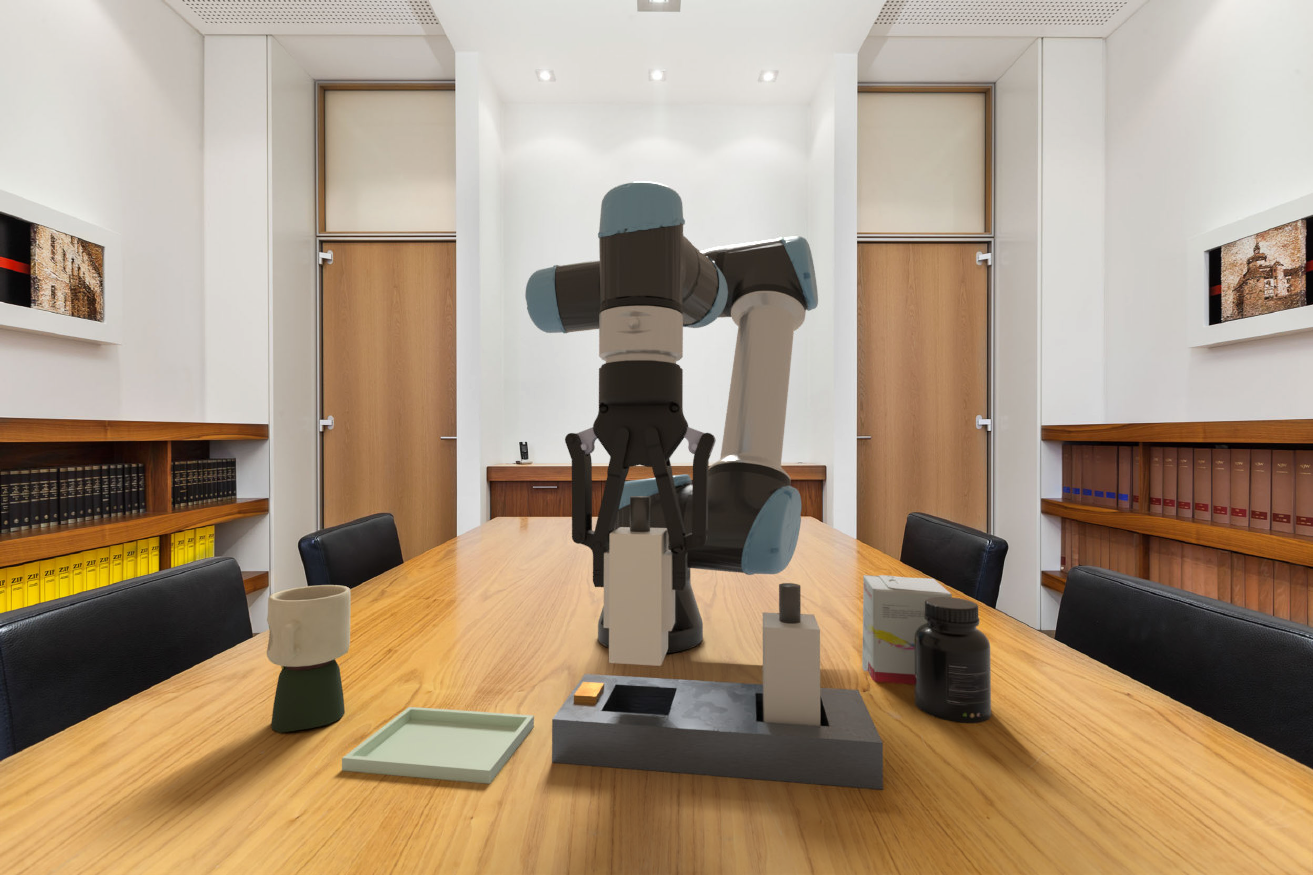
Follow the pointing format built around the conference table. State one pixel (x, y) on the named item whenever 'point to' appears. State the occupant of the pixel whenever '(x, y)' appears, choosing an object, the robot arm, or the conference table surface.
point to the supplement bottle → (952, 662)
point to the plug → (637, 589)
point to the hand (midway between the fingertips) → (639, 624)
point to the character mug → (308, 654)
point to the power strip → (715, 732)
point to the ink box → (894, 624)
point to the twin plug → (791, 662)
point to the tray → (441, 745)
